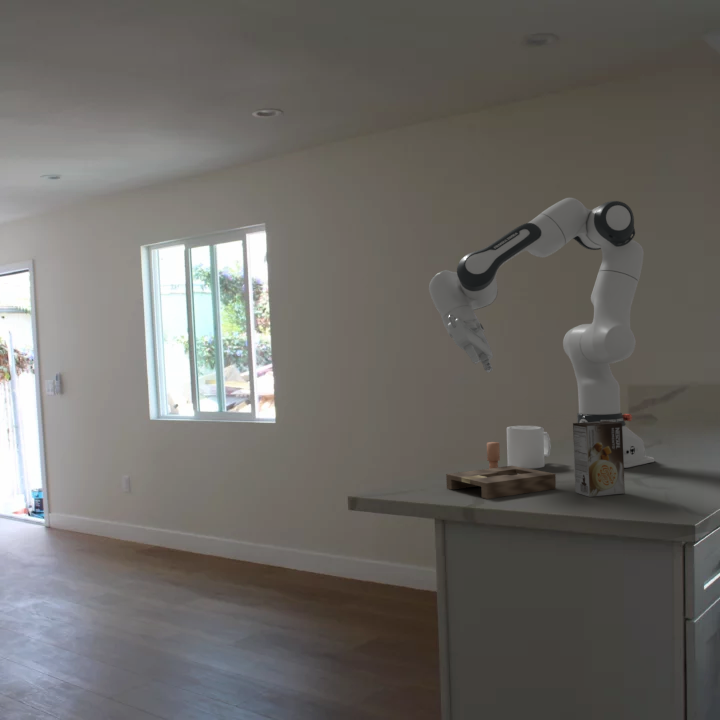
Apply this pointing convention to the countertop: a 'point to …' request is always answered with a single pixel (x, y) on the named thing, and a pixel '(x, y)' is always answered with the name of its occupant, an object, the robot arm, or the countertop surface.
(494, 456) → the peg
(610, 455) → the coffee box
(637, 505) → the countertop surface
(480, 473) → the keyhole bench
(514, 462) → the mug
